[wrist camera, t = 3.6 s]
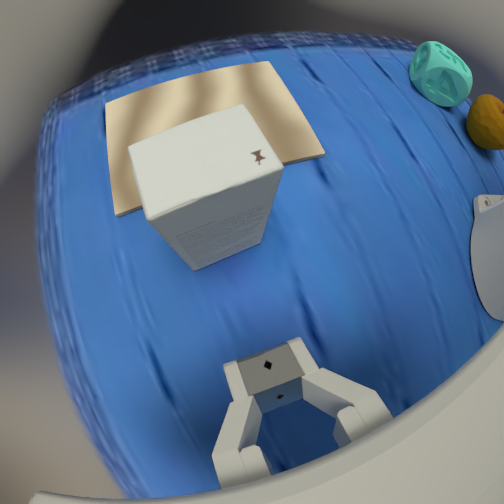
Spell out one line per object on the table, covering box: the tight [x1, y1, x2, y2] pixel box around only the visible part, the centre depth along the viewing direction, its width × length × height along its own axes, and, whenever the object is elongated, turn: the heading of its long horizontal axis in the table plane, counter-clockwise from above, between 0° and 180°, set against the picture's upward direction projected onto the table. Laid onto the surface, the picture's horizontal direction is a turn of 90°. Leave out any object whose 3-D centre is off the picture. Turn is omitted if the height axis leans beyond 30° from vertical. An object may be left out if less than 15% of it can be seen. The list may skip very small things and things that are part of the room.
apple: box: [466, 95, 504, 150], centre depth 24 cm, size 8×8×9 cm
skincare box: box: [128, 104, 284, 271], centre depth 16 cm, size 6×4×12 cm
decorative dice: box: [409, 41, 472, 107], centre depth 26 cm, size 8×8×8 cm
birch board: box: [106, 61, 325, 217], centre depth 25 cm, size 20×15×1 cm
